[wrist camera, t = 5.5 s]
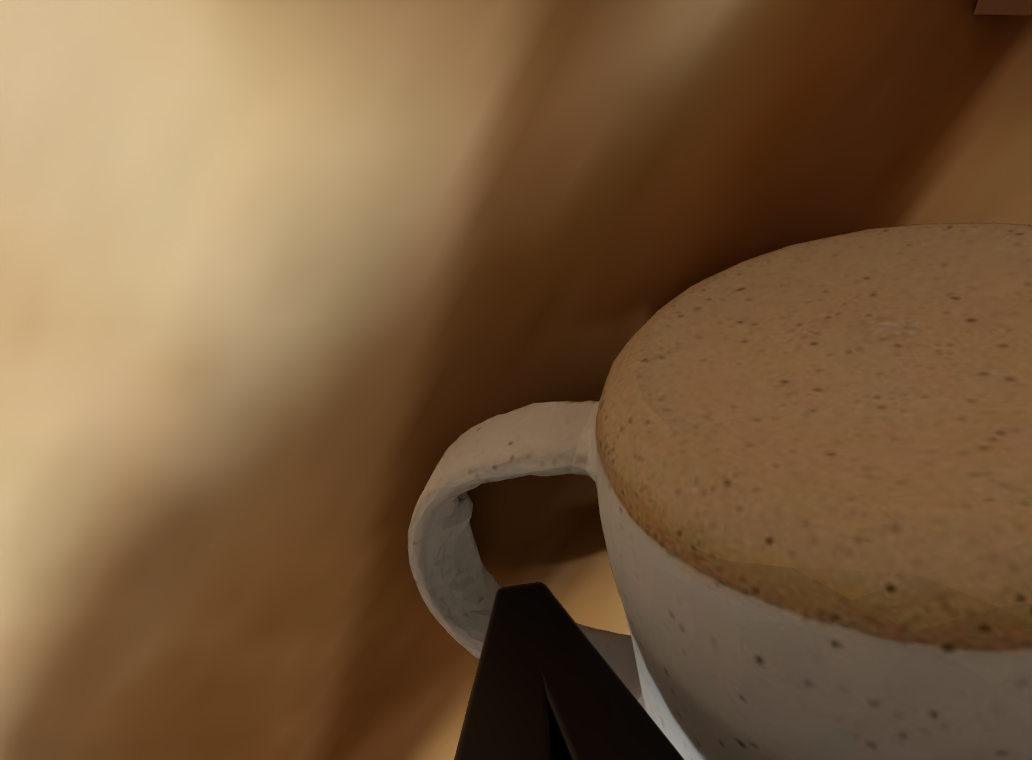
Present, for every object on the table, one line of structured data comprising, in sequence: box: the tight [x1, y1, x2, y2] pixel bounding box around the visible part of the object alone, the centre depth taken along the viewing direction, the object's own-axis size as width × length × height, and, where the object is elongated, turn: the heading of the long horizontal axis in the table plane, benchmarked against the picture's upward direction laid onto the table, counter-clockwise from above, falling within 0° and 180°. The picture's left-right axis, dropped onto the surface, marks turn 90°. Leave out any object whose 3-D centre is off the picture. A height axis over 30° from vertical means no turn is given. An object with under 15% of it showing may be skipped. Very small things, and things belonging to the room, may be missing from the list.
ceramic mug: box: [408, 223, 1032, 760], centre depth 9 cm, size 11×8×8 cm
